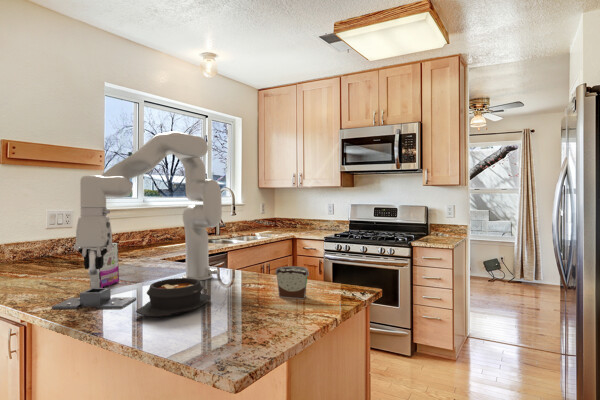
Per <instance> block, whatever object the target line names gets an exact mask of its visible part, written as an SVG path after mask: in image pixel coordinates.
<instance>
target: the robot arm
mask: <svg viewBox="0 0 600 400" xmlns="http://www.w3.org/2000/svg"><path fill="white" fill-rule="evenodd" d="M208 145H209V144H208V142H207V141H206V140H205V139H204V138H203V137H202V136H199V135H194V134H191V133H190V134H189V133H185V132H180V131H179V132H178V131H169V132H162V133H158V134H156V135H154V136H153V137H151V138H150V139H149V140H148V141H147V142H146V143H144V145H142V146H141V147H140V148H138V149H137V150H136V151H135V152H134V153H132V154H131V155H129V156H127V157H126V158H124V159H123V160H121V161H119V162H117V163H115V164H114V165H112V166H111V167H110V168H108V169H107V170H106V171H104V173H102V174H101V175H84V176H82V177H81V178H80V180H79V181H80V183H79V185H80V188H79V189H80V191H79V192H80V194H79V195H80V197H79V200H80V203H79V204H80V205H79V206H80V209H79V210H80V217H78V220H77V224H76V230H75V243H74V245H73V247H72V248H73V250H76V251H78V252H79V253H80V255H81V256H82V258H83V266H84V270H89V250H91V247H97V257H96V269H100V268H103V265H104V256H105V254H106V253H107V252H108V251H109V250H111V249H113V248H114V245H113V244H112V243H113V232H112V225H111V220H110V217H109V216H107V215H108V214H110V213H111V211H110V209H108V208H107V199H108V198H109V199H110V198H112V199H121V198H125V197H128V196H129V195H130V194H131V193H132V190H133V183H132V182H131V179H134V178H136V177H139V176H142V175H145V174H147V173H150V172H151V171H152V170H154V169H155V167H156V166H158V165H159V164H160V163H161V162H162V161H163V160H164V159H165V158H166V157H168V156H169V155H174V156H175V157H176V158H177V159H178V160H179V162H180V163H182V166H183V168H184V175H185V176H184V177H185V196H186V198H187V199H188V200H189V201H191V202H200V203H201V202H202V204H191V205H188V206H187V207H185V209H184V210H183V212H182V222H183V226H184V234H185V274H183V275H182V278H190V279H196V280H199V281H200V282H201V281H206V280H209V279H212V278H213V275H219V273H220V272H219V269H217V268H211V266H210V265H209V262H210V261H209V260H210V259H209V234H208V231H207V229H206V228H215V227H217V226H219V224H221V220H222V215H223V214H222V211H223V210H222V191H221V190H222V188H221V186H220V184H219V183H218V181H216V180H215V179H213V178H207V173H206V165H205V163H204V161H203V160H202V158H203V157H204V156H206V154H207V153H208V151H209V146H208ZM105 246H107V247H106V248H105Z"/></svg>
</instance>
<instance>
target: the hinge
mask: <svg viewBox="0 0 600 400" xmlns="http://www.w3.org/2000/svg"><path fill="white" fill-rule="evenodd" d="M134 300H135V301H136V300H137V297H135V296H134V297H129V296H128V297H123V296H122V297H121V296H120V297H116V296H115V297H112V298H111V288H110V287H104V288H89V289H86V290H84V291H82V292H79V297H70V298H67V299H65V300H62V301H61V302H58V303H56V304H54V305H52V306H51V309H52V310H58V309H59V310H66V309H67V310H76V309H79V308H96V309H104V310H105V309H106V310H107V309H112V308H122V309H123V307H124V308H125V307H127V306H128V305H130V304H131V302H132V301H133V302H134ZM133 302H132V303H133ZM129 303H130V304H129ZM126 305H127V306H126Z"/></svg>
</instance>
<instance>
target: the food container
mask: <svg viewBox="0 0 600 400" xmlns="http://www.w3.org/2000/svg"><path fill="white" fill-rule="evenodd" d="M309 272H310V271H309V269H308V268H307V267H304V266H298V265H297V266H295V265H293V266H292V265H290V266H279V267H276V269H275V273H274V274H275V275H276V279H277V289H278V297H279V298H283V299H284V298H286V299H296V300H297V299H298V300H306V293H307V284H308V283H307V282H308V277H309V276H310V273H309Z"/></svg>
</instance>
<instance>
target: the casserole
mask: <svg viewBox="0 0 600 400" xmlns="http://www.w3.org/2000/svg"><path fill="white" fill-rule="evenodd" d="M203 290H204V286H203V285H202V283H201V280H200V281H199V280H196V279H190V278H181V277H180V278H177V277H176V278H175V277H174V278H170V279H162V280H159V281H158V280H157V281H154V282H153V283H151V284H150V286H149V288H148V290H147V292H146V294H147V296H148V297H149V298H148V299H149V301H148V302H147V303H145V304H144V305H143V306H141V307H138V309H136V311H135V312H136V314H139V315H141V316H145V317H156V318H157V317H167V316H170V315H173V316H174V315H180V314H181V315H182V314H186V313H189V312H191V311H193V310H196V309H198V308H201V307H203V306H205V304H206V303H207V301H209V300H210V299H211V298H212V297H211V295H209V294H207V293H204V292H203Z"/></svg>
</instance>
